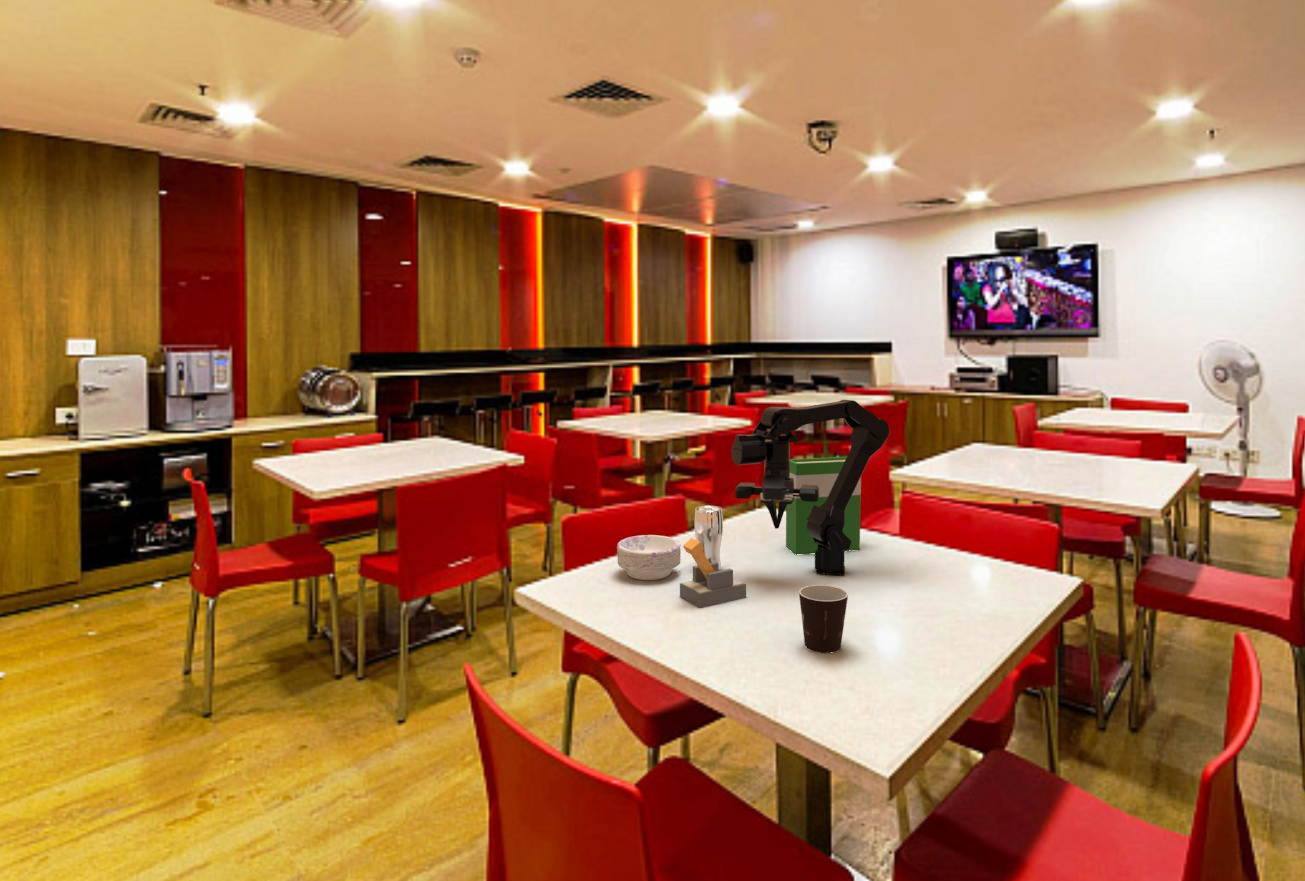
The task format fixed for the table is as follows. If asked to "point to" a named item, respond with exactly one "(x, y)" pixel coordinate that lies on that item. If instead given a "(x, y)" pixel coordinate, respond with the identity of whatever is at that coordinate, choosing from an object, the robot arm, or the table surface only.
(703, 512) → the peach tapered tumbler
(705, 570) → the breaker lever
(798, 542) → the hardback book
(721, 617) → the table surface
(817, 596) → the coffee mug
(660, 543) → the paper bowls
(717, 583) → the breaker block
